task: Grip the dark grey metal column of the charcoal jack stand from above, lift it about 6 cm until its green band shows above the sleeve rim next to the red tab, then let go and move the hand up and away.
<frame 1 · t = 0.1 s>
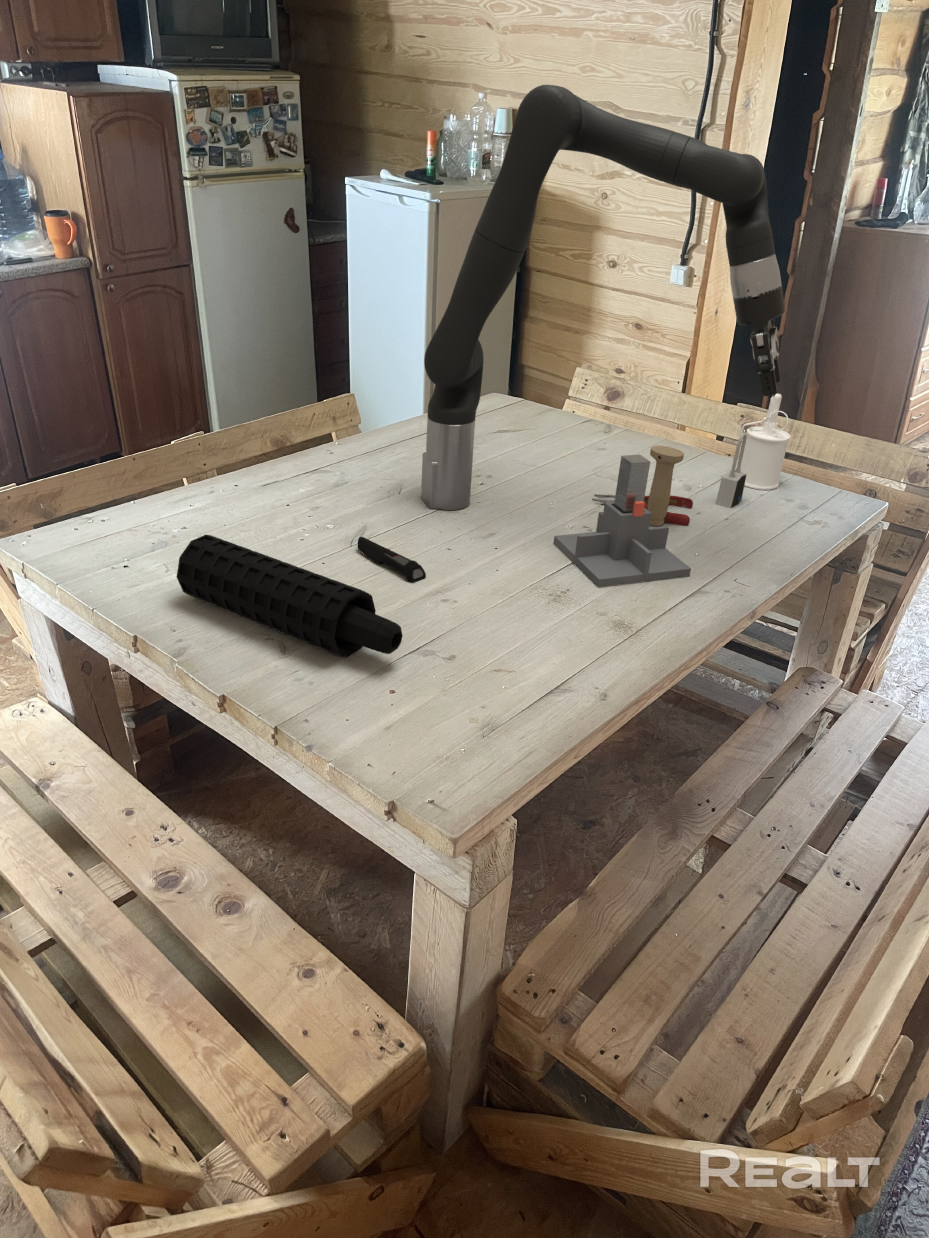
hand: (772, 388, 150), 31 cm above the table, tool tilted 20°, fingers open, 8 cm apart
column: (628, 505, 157), point 11 cm above the table, slide at 0.0 cm
white oil can: (754, 483, 202), on the table
padlock: (728, 502, 190), on the table
handle: (654, 524, 177), on the table
electric trimmer: (389, 568, 155), on the table
jack stand: (619, 559, 162), on the table
roller: (291, 630, 135), on the table
pliers: (647, 510, 185), on the table
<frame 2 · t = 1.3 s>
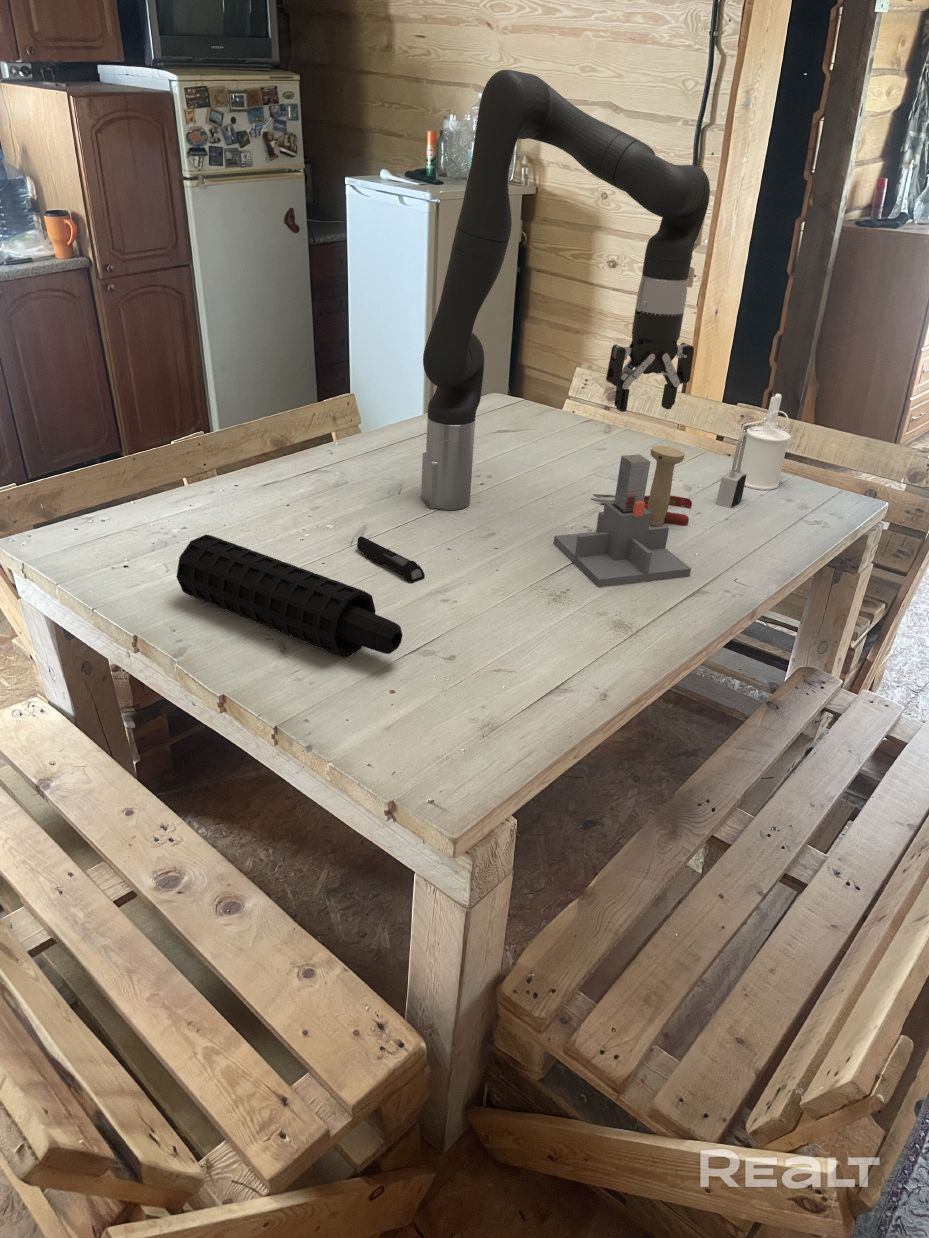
hand: (643, 409, 149), 28 cm above the table, tool pointing down, fingers open, 8 cm apart
nothing on the table moved.
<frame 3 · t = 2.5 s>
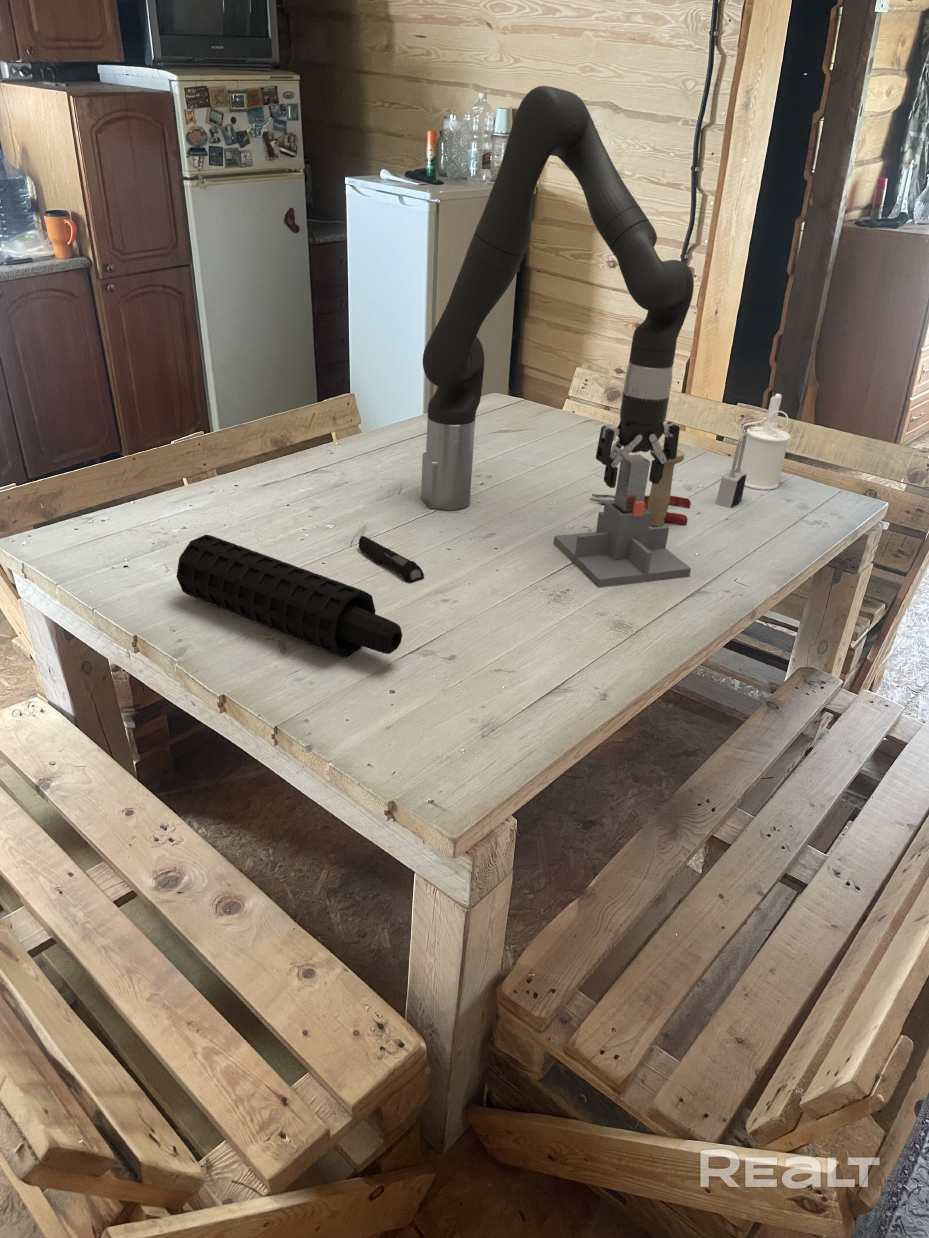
hand: (632, 484, 155), 14 cm above the table, tool pointing down, fingers open, 8 cm apart
nothing on the table moved.
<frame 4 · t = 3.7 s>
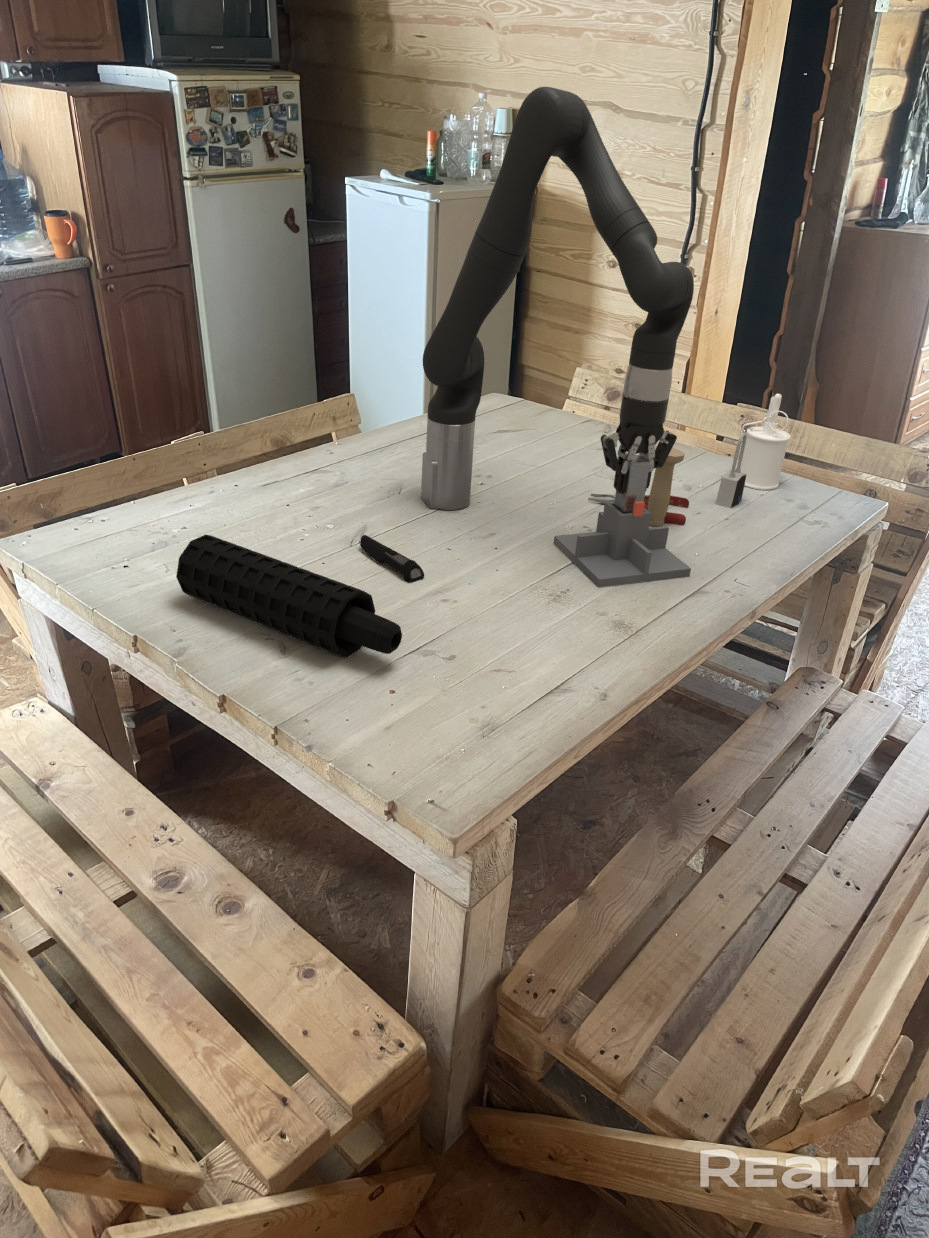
hand: (630, 490, 156), 13 cm above the table, tool pointing down, fingers closed on column, 3 cm apart
column: (628, 505, 157), point 10 cm above the table, slide at 0.0 cm, touching gripper
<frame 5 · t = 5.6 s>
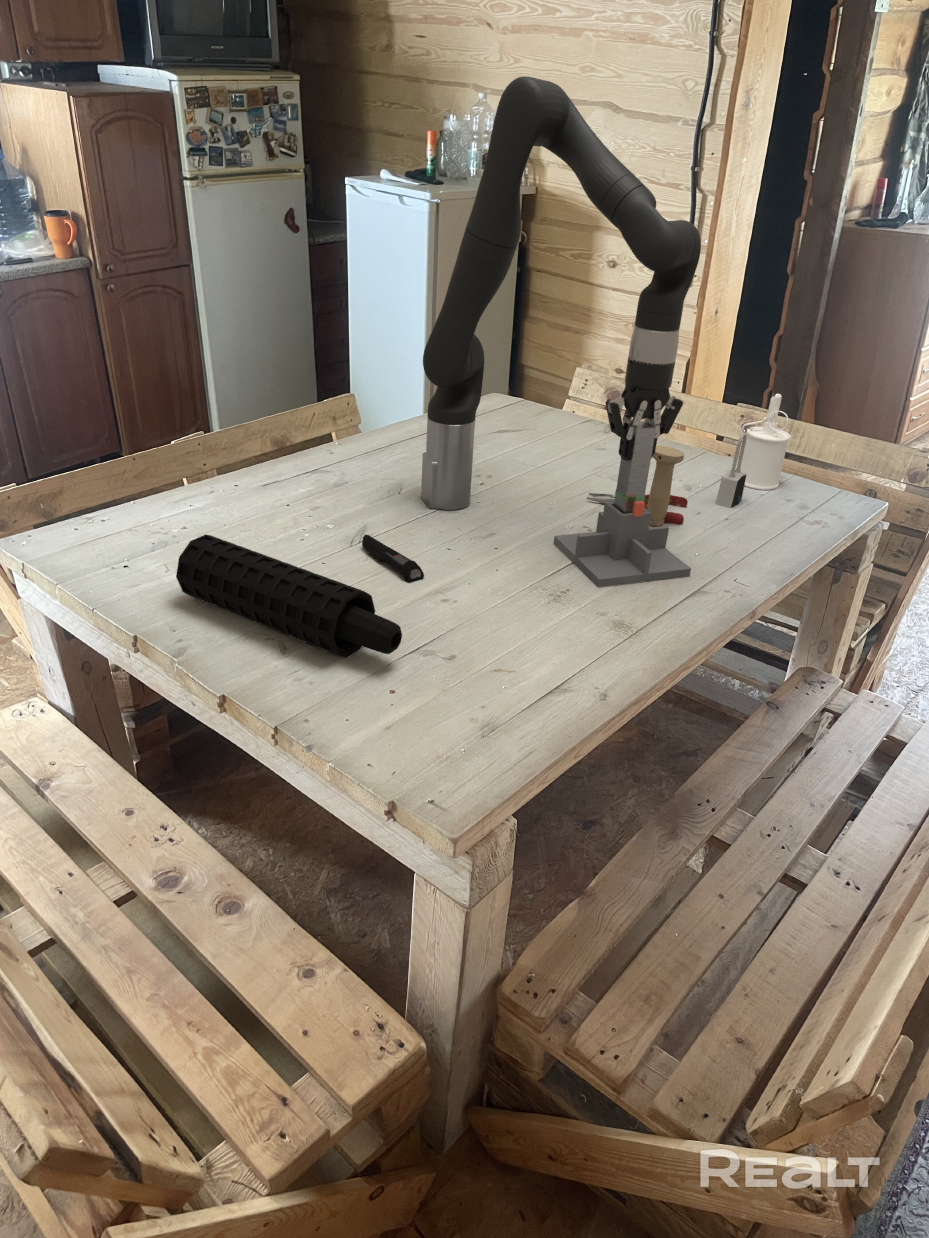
hand: (635, 458, 153), 19 cm above the table, tool pointing down, fingers closed on column, 3 cm apart
column: (633, 473, 154), point 16 cm above the table, slide at 5.9 cm, touching gripper
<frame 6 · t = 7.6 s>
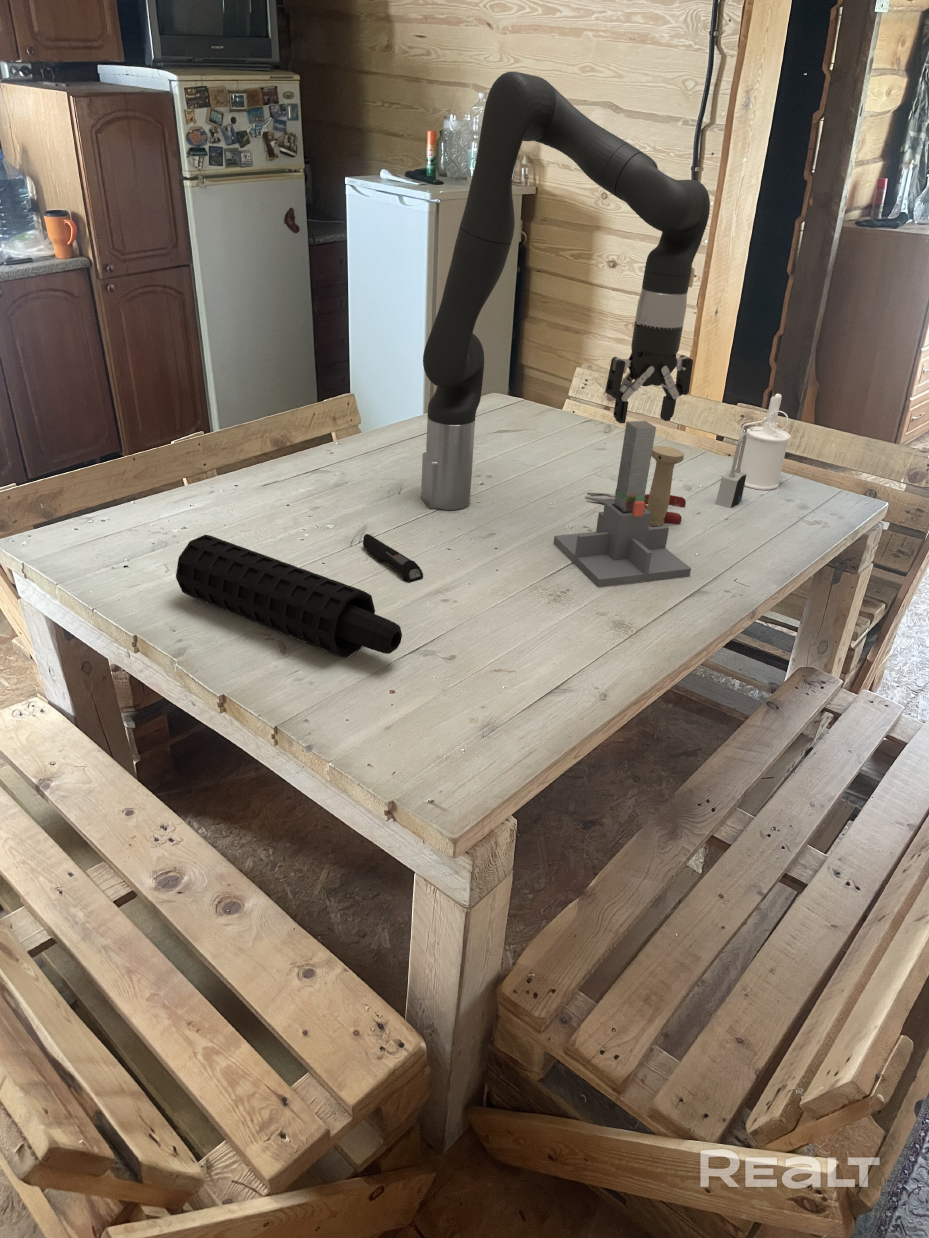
hand: (642, 421, 149), 26 cm above the table, tool pointing down, fingers open, 8 cm apart
column: (633, 472, 154), point 16 cm above the table, slide at 5.9 cm
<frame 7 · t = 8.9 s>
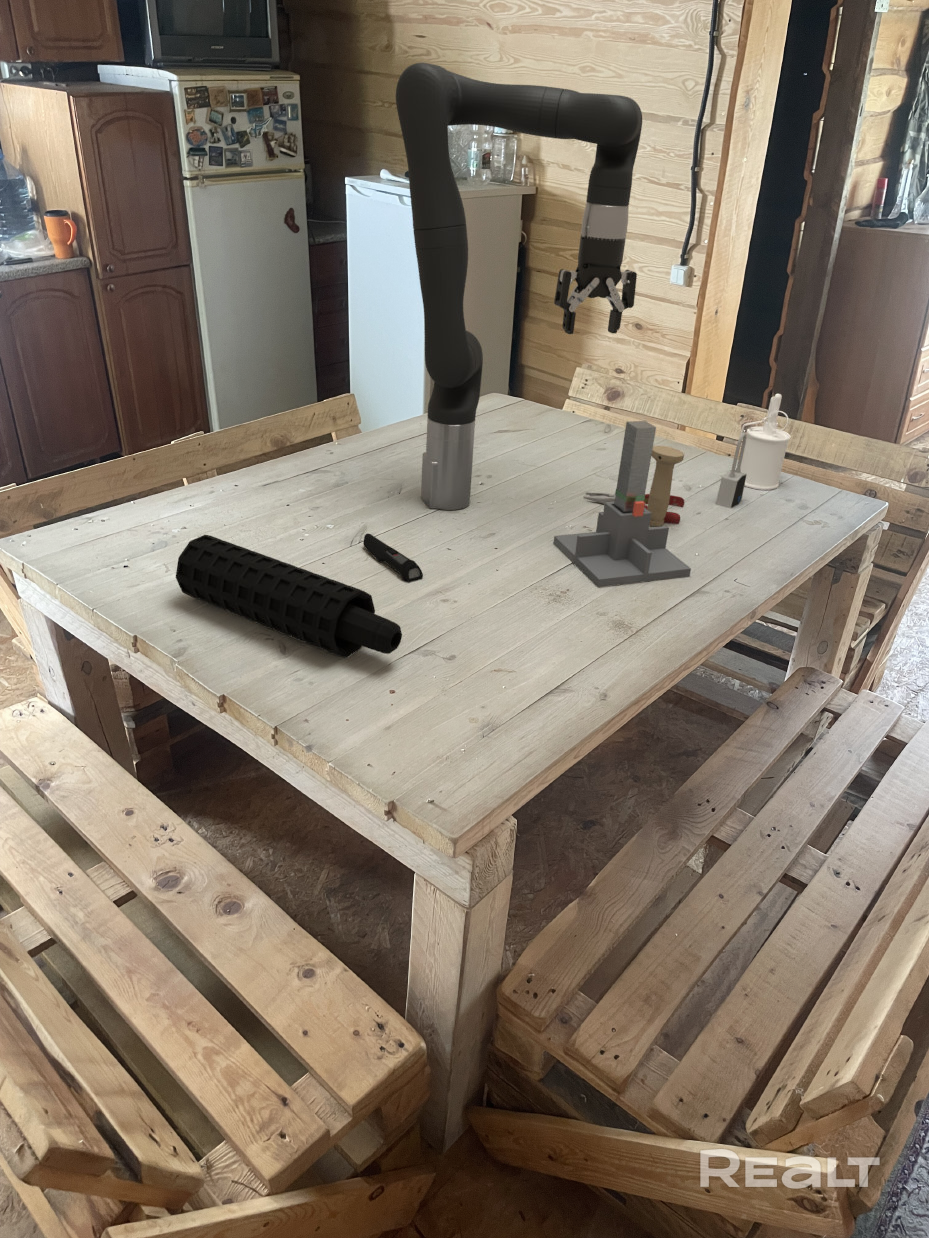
hand: (590, 333, 158), 36 cm above the table, tool pointing down, fingers open, 8 cm apart
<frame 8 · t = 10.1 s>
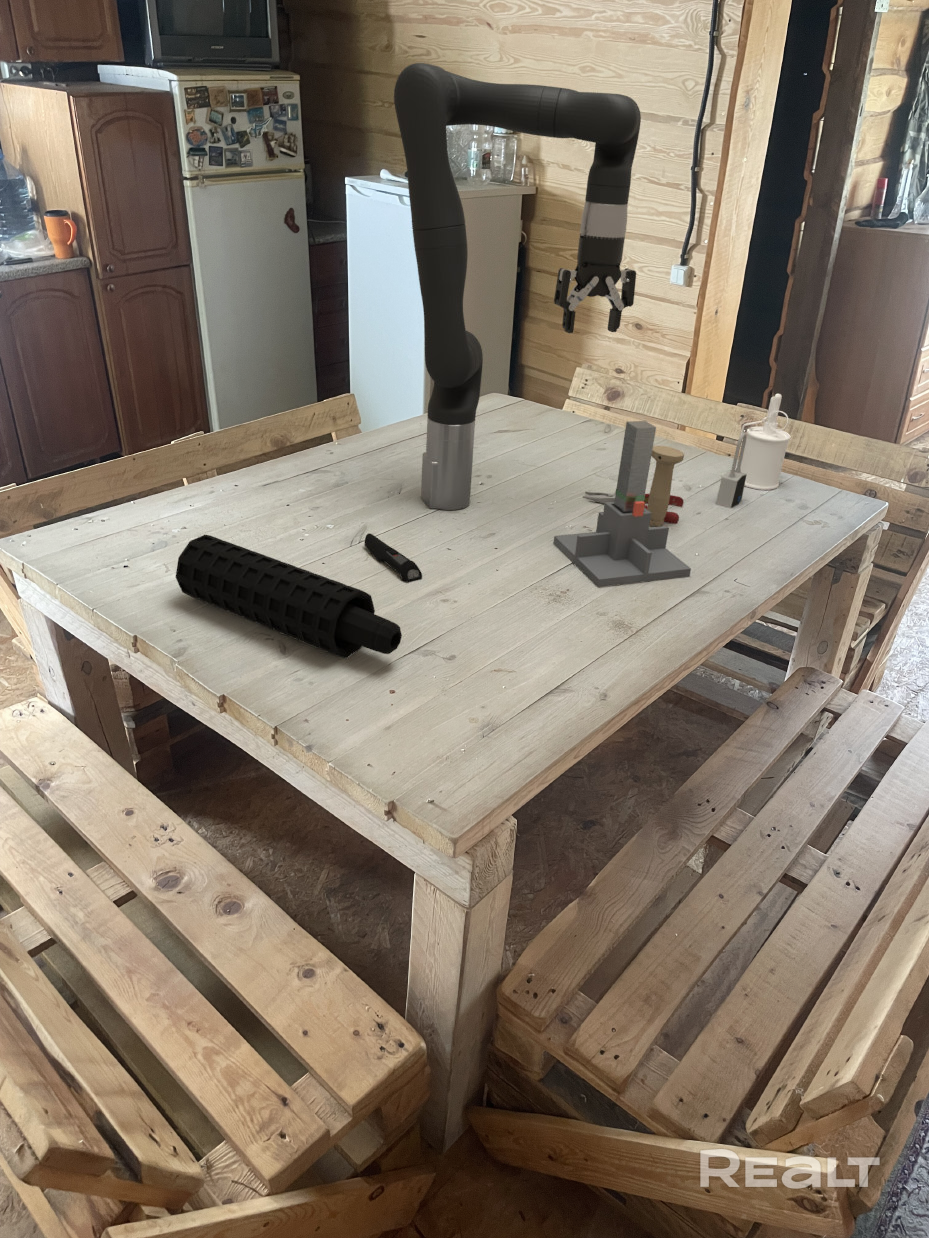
hand: (590, 331, 158), 36 cm above the table, tool pointing down, fingers open, 8 cm apart
at the end: column slide at 5.9 cm; the gripper is holding nothing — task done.
